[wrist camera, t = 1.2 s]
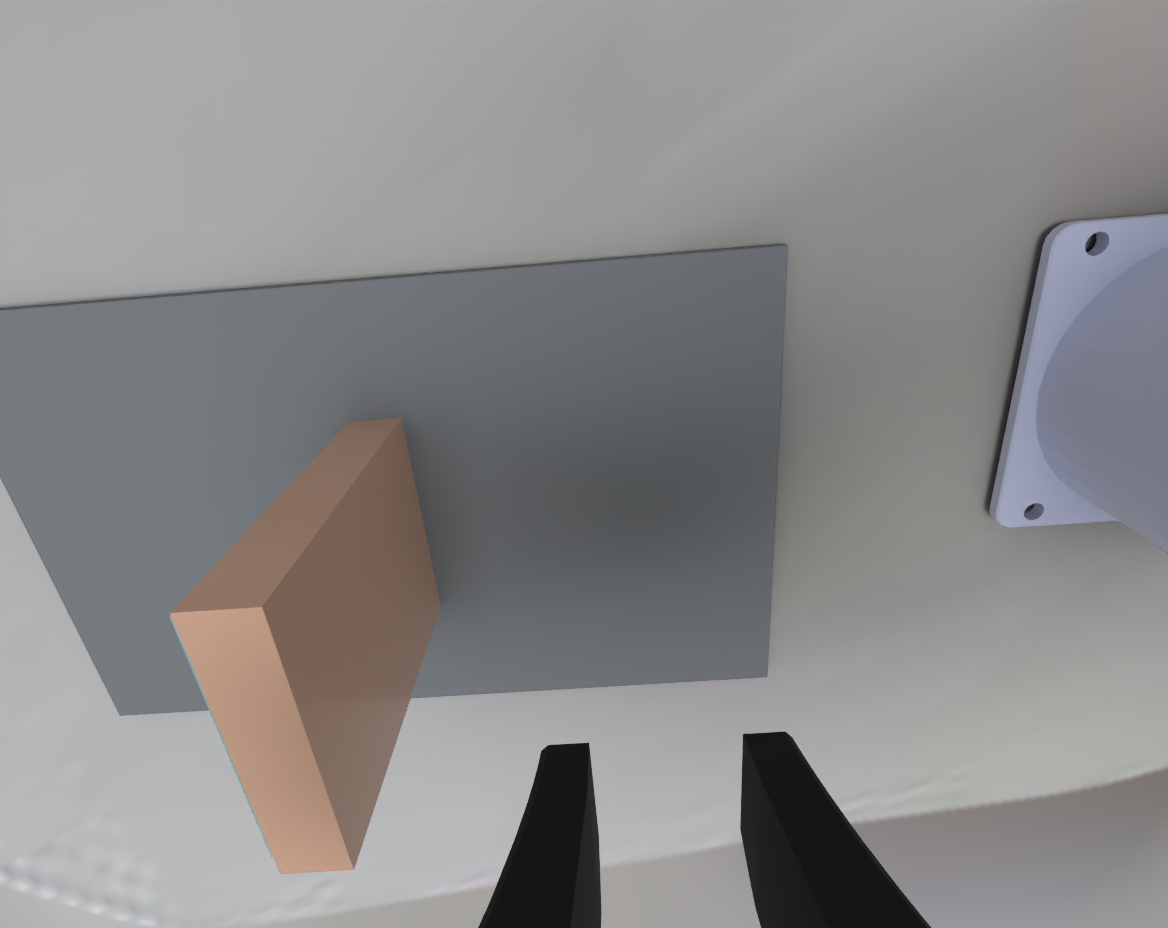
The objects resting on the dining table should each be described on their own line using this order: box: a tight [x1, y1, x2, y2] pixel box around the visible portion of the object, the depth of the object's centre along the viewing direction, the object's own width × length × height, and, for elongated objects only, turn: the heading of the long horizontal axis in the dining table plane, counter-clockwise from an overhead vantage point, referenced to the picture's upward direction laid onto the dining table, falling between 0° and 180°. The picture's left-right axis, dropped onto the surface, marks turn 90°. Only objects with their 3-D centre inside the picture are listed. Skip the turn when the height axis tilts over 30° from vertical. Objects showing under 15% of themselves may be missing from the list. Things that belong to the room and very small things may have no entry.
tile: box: [169, 418, 441, 874], centre depth 15 cm, size 2×6×8 cm, turn 4°
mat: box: [0, 244, 788, 716], centre depth 18 cm, size 21×13×1 cm, turn 95°
